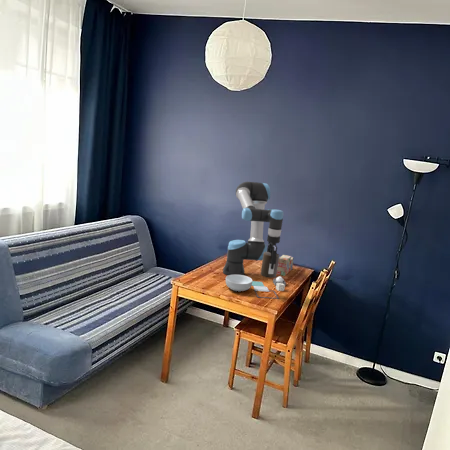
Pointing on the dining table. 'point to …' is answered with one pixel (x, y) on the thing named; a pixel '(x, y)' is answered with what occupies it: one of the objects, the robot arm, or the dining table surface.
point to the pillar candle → (266, 265)
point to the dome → (279, 279)
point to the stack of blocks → (284, 265)
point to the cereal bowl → (238, 282)
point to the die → (280, 286)
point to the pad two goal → (257, 283)
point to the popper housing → (279, 282)
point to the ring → (267, 297)
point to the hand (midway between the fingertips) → (269, 270)
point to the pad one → (261, 288)
